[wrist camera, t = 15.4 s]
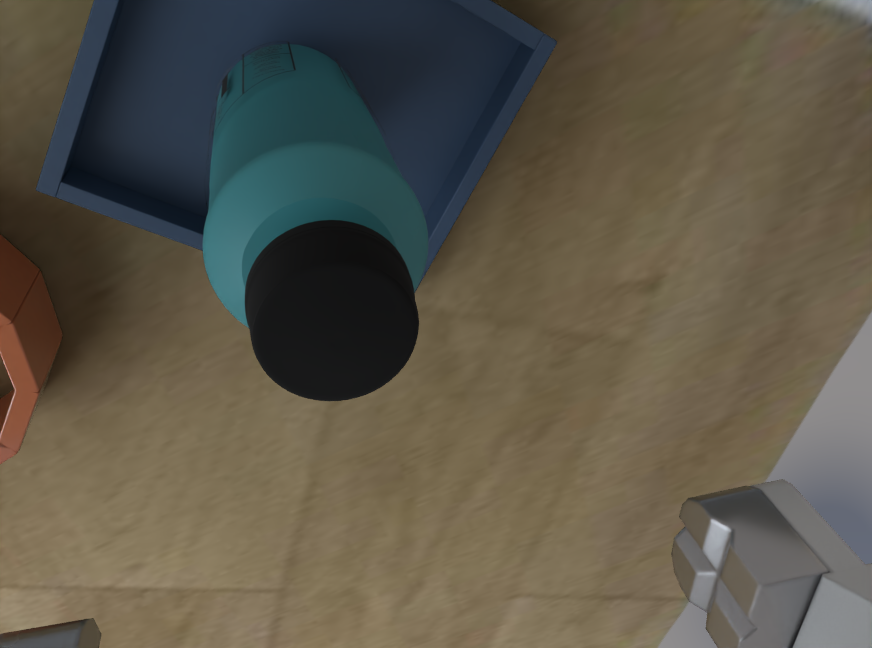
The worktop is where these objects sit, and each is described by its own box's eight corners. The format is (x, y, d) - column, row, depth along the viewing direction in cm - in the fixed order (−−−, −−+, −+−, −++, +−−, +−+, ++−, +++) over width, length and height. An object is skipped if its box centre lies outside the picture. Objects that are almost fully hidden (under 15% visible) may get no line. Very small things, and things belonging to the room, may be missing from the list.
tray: (49, 170, 32) (35, 190, 30) (164, -198, 27) (157, -205, 24) (390, 298, 40) (398, 321, 38) (538, 31, 34) (558, 41, 32)
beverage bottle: (208, 27, 30) (160, 205, 14) (364, 35, 32) (492, 203, 15) (220, 175, 34) (192, 464, 17) (361, 176, 35) (462, 440, 18)
